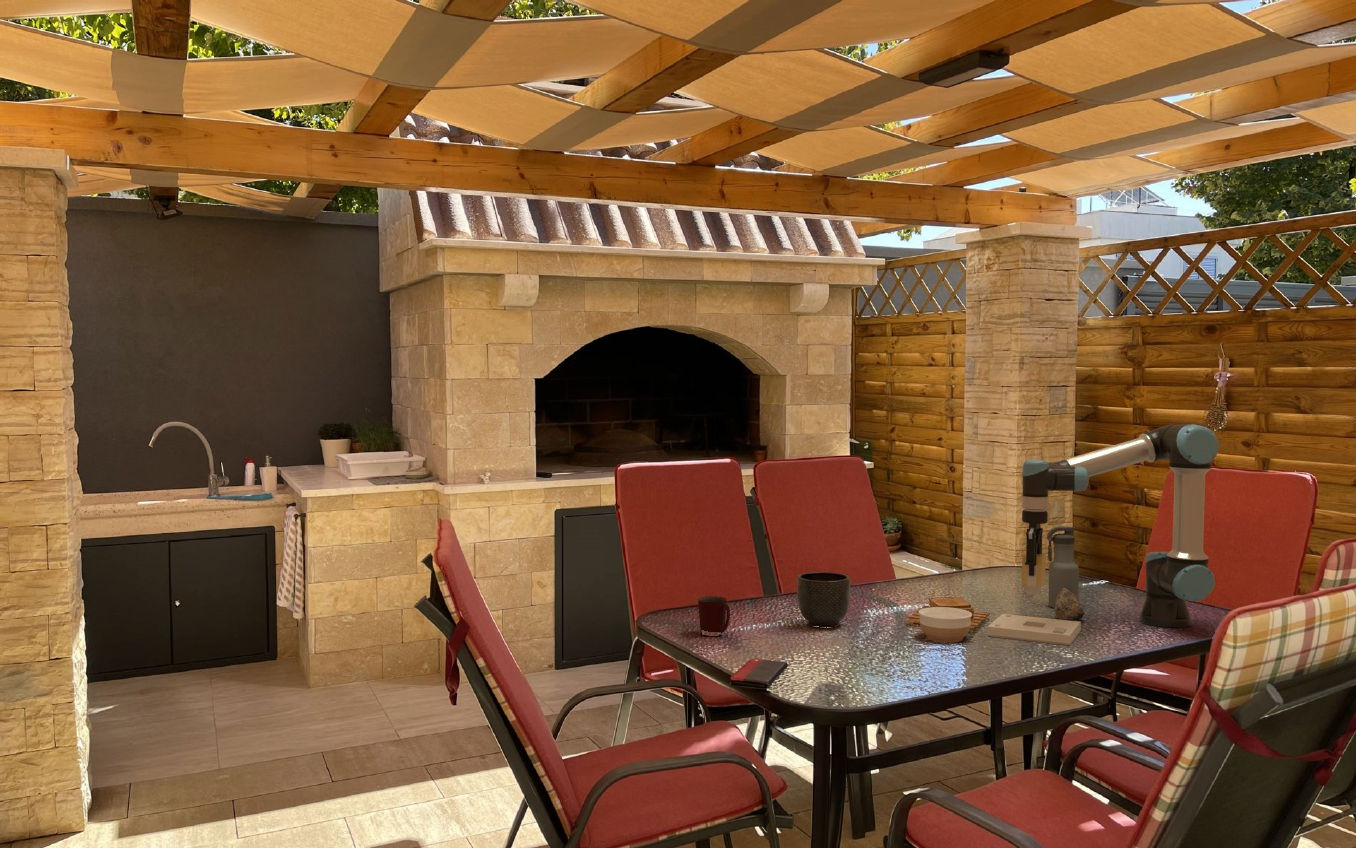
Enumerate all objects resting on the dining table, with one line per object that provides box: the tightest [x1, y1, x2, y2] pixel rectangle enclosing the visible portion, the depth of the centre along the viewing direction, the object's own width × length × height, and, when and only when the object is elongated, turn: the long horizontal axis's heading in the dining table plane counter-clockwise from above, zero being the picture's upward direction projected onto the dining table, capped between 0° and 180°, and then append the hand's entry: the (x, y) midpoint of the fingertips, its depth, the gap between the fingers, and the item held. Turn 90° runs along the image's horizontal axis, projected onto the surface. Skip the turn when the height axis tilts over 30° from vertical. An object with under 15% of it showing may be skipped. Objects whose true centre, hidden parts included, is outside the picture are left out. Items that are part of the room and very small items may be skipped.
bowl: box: [918, 606, 973, 643], centre depth 314 cm, size 16×16×8 cm
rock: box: [1053, 588, 1085, 622], centre depth 338 cm, size 9×12×10 cm
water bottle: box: [1046, 525, 1080, 609], centre depth 355 cm, size 10×10×28 cm
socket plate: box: [987, 613, 1082, 646], centre depth 318 cm, size 24×20×4 cm
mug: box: [697, 595, 731, 633], centre depth 320 cm, size 12×9×11 cm
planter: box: [796, 571, 851, 629], centre depth 332 cm, size 17×17×16 cm
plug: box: [1021, 552, 1047, 596], centre depth 317 cm, size 6×5×13 cm
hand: (1033, 584), depth 318 cm, fingers closed on plug, 5 cm apart
